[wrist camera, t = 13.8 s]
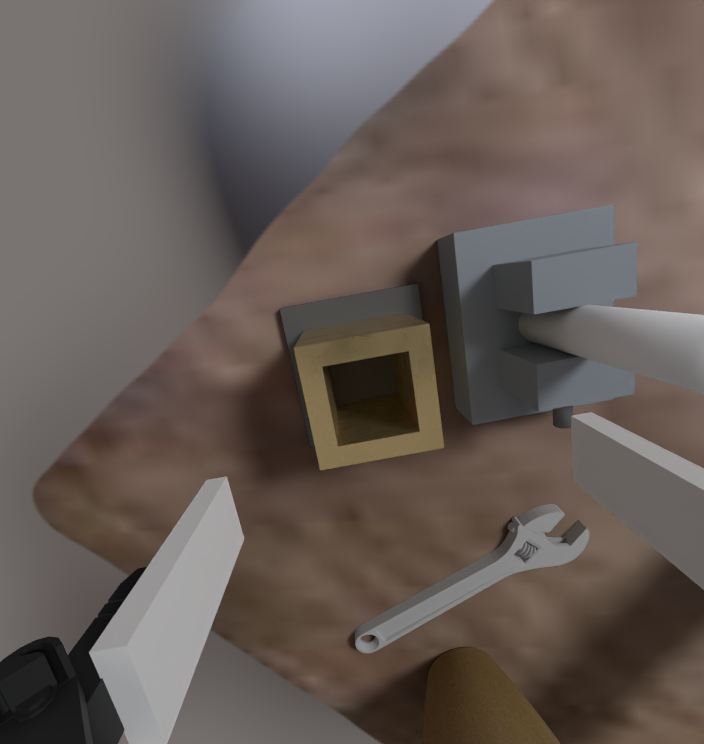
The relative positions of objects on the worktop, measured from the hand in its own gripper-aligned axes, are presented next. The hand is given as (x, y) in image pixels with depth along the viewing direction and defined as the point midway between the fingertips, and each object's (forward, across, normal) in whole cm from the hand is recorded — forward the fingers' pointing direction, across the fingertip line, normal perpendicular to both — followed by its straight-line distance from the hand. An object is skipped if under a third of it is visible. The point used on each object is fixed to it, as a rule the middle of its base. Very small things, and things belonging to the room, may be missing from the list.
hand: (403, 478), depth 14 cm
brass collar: (+17, 0, 0) cm, 17 cm away
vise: (+17, -12, -2) cm, 22 cm away
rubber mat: (+17, 0, 0) cm, 17 cm away
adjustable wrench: (+18, -6, +22) cm, 29 cm away
